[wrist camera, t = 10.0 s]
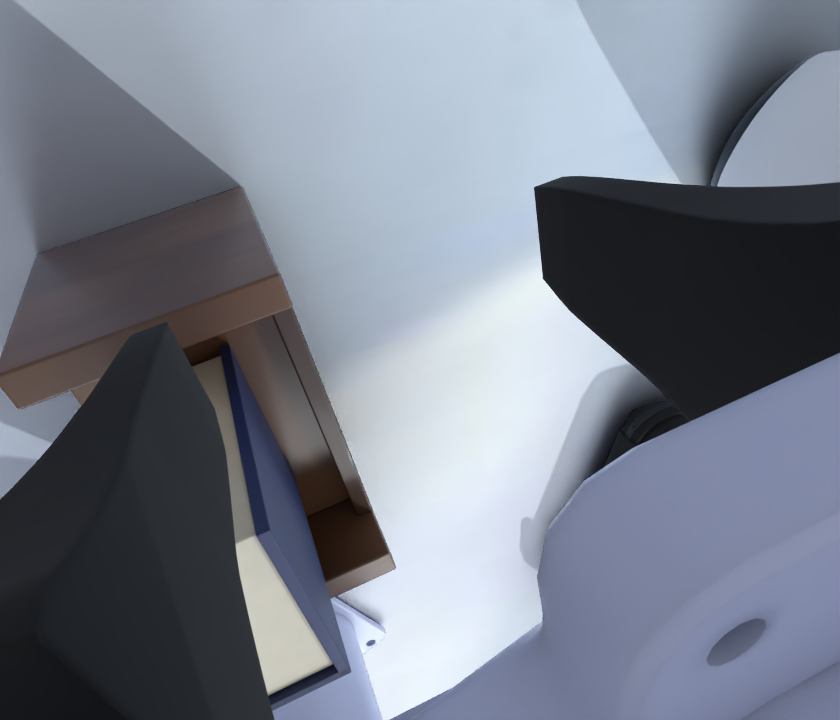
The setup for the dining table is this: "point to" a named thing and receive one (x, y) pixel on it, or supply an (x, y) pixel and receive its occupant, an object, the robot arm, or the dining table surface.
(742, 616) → the robot arm
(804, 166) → the spread jar
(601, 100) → the dining table surface
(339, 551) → the shelf
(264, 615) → the book
